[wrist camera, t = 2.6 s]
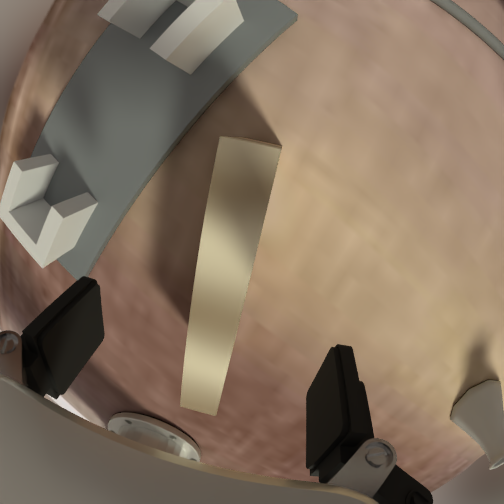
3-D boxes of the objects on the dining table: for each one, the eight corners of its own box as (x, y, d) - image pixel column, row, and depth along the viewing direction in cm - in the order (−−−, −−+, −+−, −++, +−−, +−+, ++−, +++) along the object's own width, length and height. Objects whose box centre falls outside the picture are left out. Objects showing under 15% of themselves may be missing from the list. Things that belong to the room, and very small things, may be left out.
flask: (507, 373, 22) (541, 430, 13) (481, 412, 25) (506, 467, 16) (465, 383, 23) (498, 451, 14) (440, 423, 26) (462, 486, 16)
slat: (232, 349, 23) (215, 415, 17) (204, 342, 23) (179, 406, 17) (282, 145, 17) (281, 149, 11) (243, 137, 17) (219, 136, 11)
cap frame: (86, 278, 22) (52, 308, 18) (19, 204, 20) (-19, 221, 16) (297, 20, 14) (300, -16, 9) (187, -43, 12) (163, -77, 7)
